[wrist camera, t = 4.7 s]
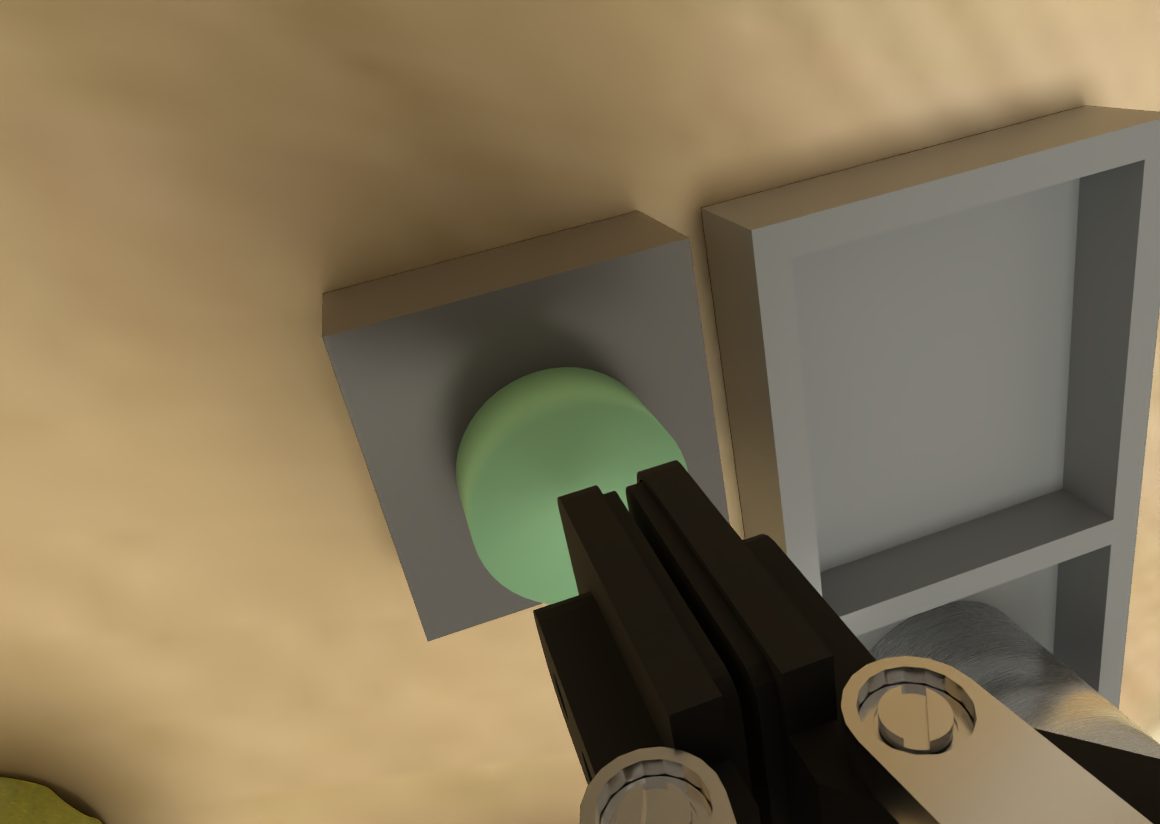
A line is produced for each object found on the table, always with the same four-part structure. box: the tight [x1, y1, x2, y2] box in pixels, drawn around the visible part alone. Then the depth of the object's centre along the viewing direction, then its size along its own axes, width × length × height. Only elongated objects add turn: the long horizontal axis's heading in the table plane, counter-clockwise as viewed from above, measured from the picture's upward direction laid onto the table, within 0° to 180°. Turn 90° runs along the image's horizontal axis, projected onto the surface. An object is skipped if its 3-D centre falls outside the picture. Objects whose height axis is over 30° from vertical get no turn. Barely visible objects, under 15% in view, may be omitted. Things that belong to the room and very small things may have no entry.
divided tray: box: [701, 106, 1160, 710], centre depth 24 cm, size 21×10×3 cm, turn 11°
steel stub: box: [870, 601, 1160, 759], centre depth 23 cm, size 6×6×8 cm
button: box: [456, 367, 688, 604], centre depth 17 cm, size 4×4×5 cm
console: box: [322, 211, 730, 641], centre depth 19 cm, size 7×7×3 cm
